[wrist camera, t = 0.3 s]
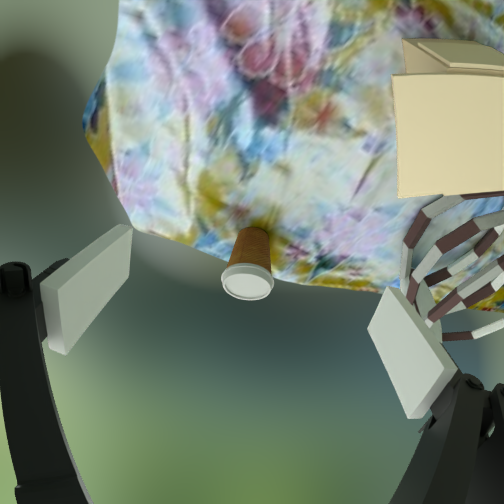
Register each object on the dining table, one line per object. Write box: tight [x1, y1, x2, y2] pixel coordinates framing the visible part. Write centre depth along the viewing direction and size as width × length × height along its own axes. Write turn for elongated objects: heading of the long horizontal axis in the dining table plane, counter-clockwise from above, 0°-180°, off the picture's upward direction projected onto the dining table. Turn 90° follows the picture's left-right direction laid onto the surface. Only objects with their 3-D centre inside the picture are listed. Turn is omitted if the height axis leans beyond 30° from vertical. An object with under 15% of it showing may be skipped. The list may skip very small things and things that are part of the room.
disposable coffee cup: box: [221, 227, 274, 300], centre depth 59 cm, size 10×10×12 cm
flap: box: [391, 73, 504, 199], centre depth 25 cm, size 15×18×1 cm
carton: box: [402, 38, 504, 196], centre depth 29 cm, size 17×12×14 cm
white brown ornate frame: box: [399, 191, 504, 344], centre depth 48 cm, size 24×27×35 cm
